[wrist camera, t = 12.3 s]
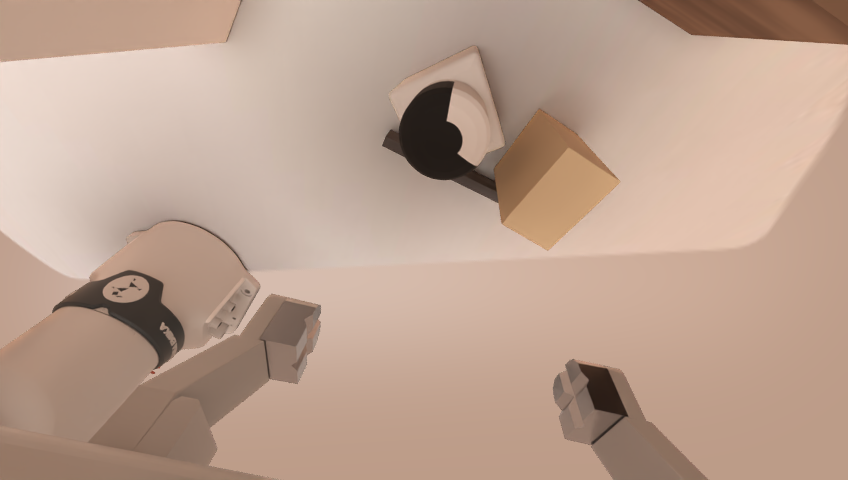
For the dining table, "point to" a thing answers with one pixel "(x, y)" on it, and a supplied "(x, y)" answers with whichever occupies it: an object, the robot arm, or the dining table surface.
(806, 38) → the brown flat boards
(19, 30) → the milk
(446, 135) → the medicine bottle
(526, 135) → the carton
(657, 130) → the dining table surface
